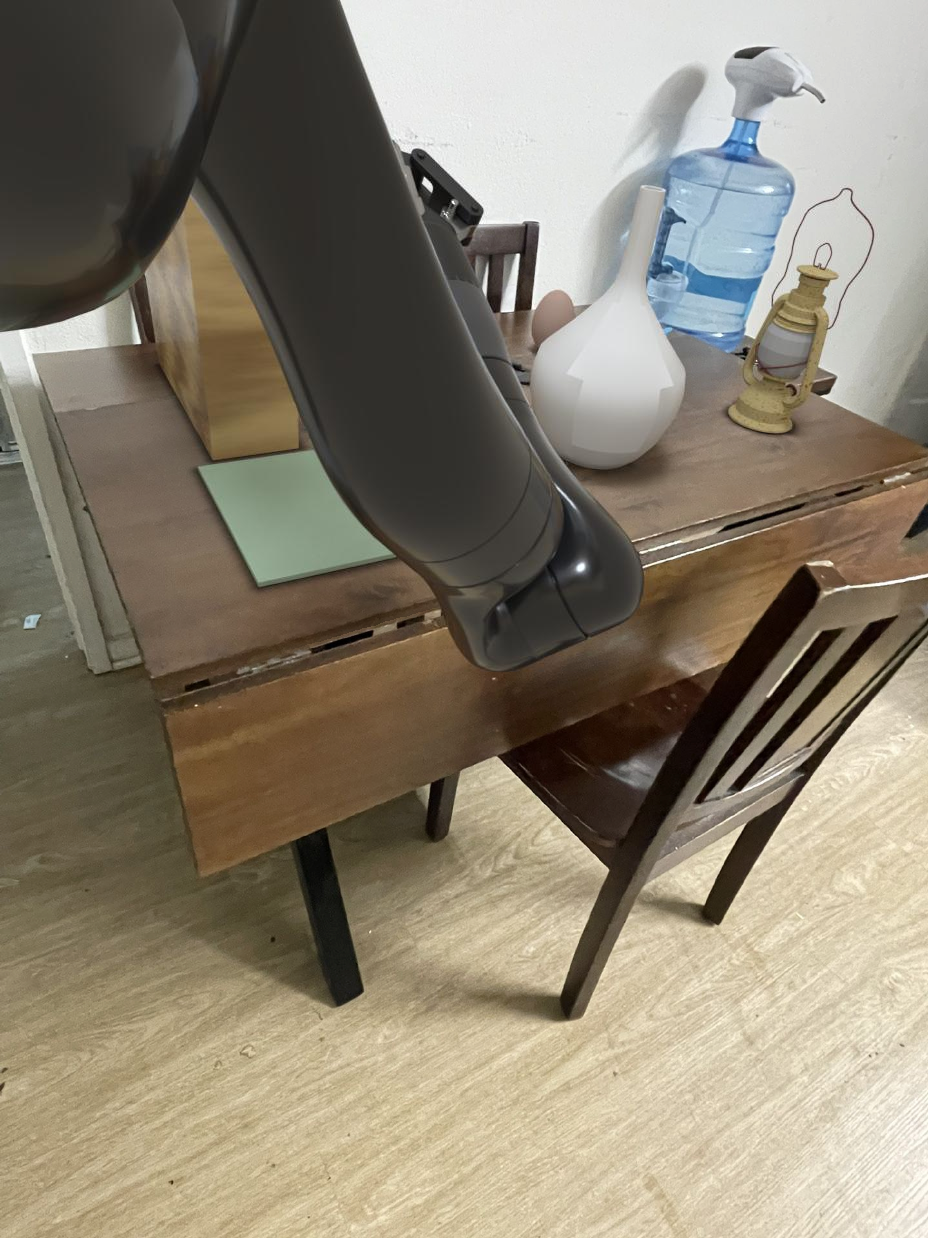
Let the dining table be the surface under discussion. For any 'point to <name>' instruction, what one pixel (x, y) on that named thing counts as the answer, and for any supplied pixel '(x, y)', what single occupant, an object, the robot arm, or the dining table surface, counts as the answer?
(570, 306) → the egg
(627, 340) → the vase
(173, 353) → the stand
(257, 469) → the mat
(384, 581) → the dining table surface
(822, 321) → the lantern
